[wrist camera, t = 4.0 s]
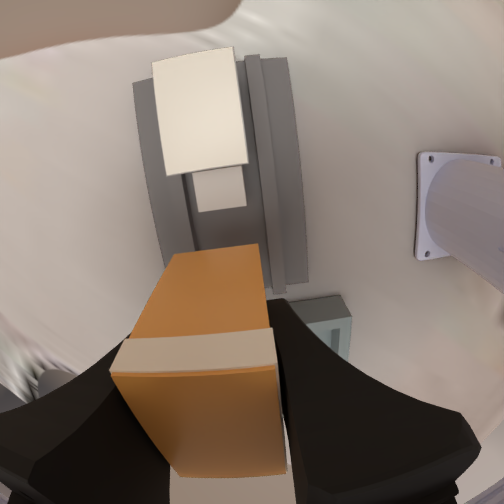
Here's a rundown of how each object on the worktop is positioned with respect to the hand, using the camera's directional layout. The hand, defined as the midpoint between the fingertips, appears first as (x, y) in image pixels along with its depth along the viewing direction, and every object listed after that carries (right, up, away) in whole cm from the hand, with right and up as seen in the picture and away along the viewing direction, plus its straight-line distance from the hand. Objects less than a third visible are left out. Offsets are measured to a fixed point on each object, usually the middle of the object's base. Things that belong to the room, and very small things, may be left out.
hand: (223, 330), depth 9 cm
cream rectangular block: (-1, +10, +6) cm, 11 cm away
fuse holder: (-1, +7, +8) cm, 10 cm away
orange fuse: (0, +1, +2) cm, 2 cm away
